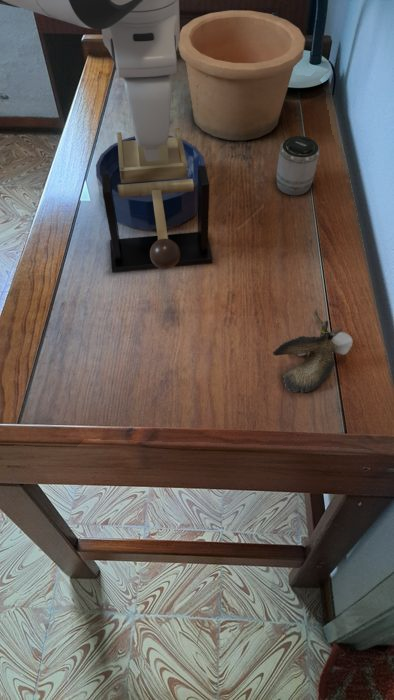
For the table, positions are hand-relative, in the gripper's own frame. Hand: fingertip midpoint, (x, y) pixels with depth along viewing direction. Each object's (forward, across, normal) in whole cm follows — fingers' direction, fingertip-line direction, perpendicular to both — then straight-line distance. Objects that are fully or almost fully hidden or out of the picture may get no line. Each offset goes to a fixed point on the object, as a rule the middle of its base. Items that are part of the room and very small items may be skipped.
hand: (149, 136), depth 68 cm
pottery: (+15, -29, +18) cm, 38 cm away
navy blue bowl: (+15, -7, 0) cm, 17 cm away
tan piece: (+5, +8, 0) cm, 10 cm away
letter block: (+3, 0, 0) cm, 3 cm away
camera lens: (+15, -7, +24) cm, 30 cm away
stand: (+15, +6, 0) cm, 17 cm away
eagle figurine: (+16, +29, +17) cm, 37 cm away
